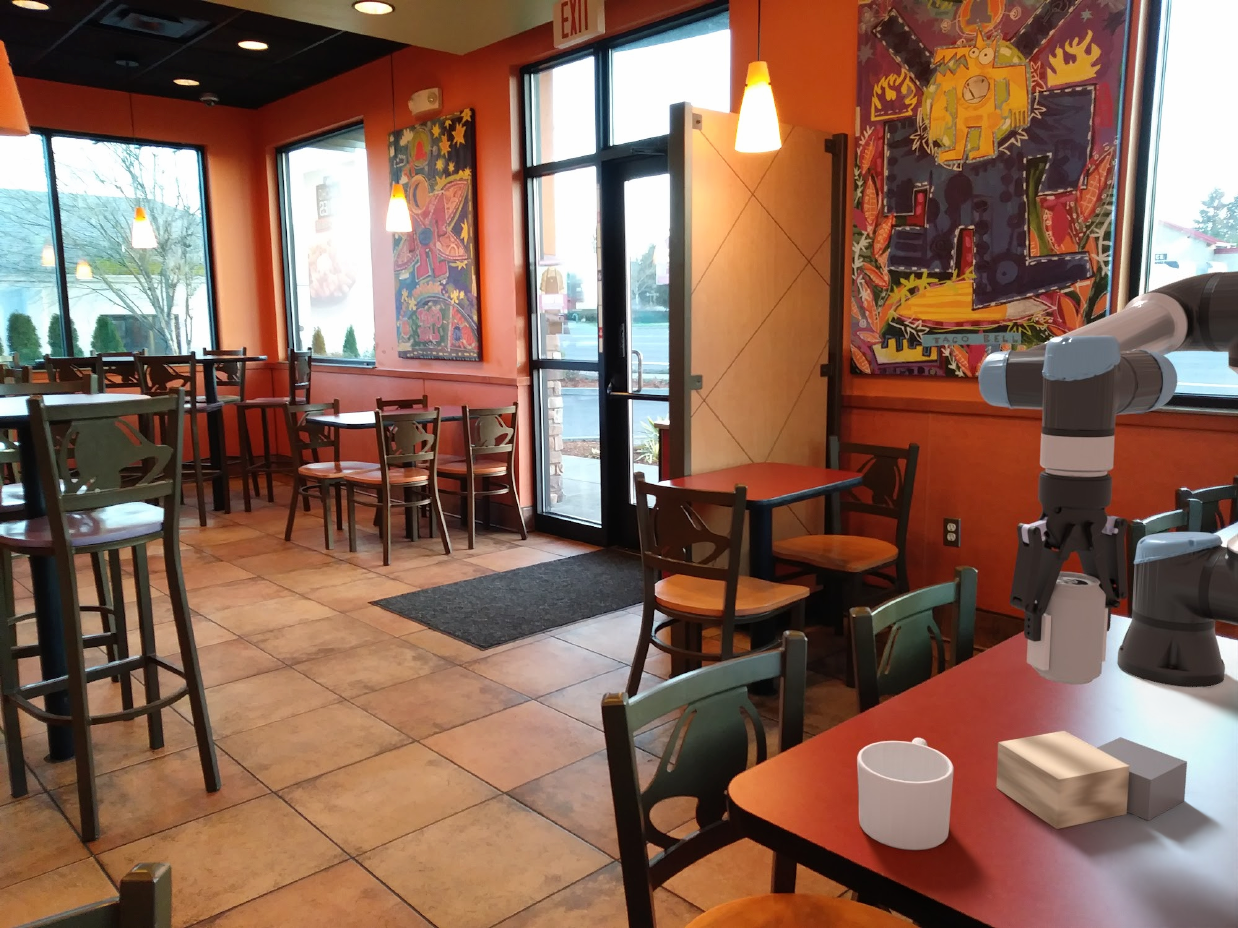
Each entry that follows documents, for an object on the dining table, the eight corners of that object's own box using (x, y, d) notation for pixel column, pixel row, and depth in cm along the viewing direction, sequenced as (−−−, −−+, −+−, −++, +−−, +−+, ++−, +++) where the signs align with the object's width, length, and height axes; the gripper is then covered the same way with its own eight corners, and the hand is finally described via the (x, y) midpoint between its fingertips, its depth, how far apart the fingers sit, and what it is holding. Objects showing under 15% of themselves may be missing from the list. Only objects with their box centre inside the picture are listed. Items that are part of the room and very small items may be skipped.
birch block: (1062, 774, 114) (1064, 730, 113) (1126, 813, 105) (1129, 765, 104) (996, 787, 112) (998, 742, 111) (1056, 828, 102) (1059, 779, 101)
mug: (939, 862, 96) (942, 792, 95) (844, 835, 102) (845, 769, 101) (965, 806, 107) (967, 742, 106) (877, 785, 113) (879, 724, 112)
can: (1110, 688, 102) (1115, 586, 100) (1039, 685, 103) (1044, 584, 101) (1089, 665, 109) (1094, 569, 107) (1023, 662, 110) (1027, 567, 109)
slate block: (1118, 774, 114) (1120, 737, 114) (1184, 800, 107) (1187, 761, 107) (1081, 791, 110) (1083, 753, 109) (1148, 820, 103) (1150, 779, 103)
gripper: (1119, 461, 109) (1109, 642, 112) (978, 472, 103) (972, 661, 106) (1173, 469, 102) (1160, 662, 105) (1025, 481, 96) (1016, 684, 99)
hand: (1065, 661), depth 106 cm, fingers closed on can, 7 cm apart
